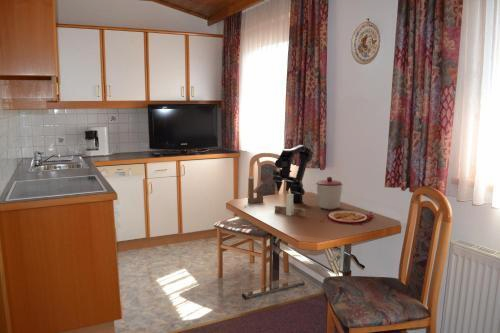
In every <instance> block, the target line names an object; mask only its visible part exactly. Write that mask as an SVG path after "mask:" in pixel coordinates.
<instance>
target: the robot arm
mask: <svg viewBox="0 0 500 333" xmlns="http://www.w3.org/2000/svg"><path fill="white" fill-rule="evenodd" d="M295 155H299V159H300V161H299V166H298V168H297V173H296V174H295V175H296V176H295V177H294V176H291V175H290V173H292V170H291V168H292V163H293V162H294V160H292V159H293V158H294V157H295ZM312 157H313V151H311V149H310V148H308V147H307V146H306V145H304V144H298V145H297V146H294V147H293V148H290V149H289V148H287V149H286V148H285V149H282V152H281V153H280V155H279V157H277V159H276V160H275V162H274V165H275V167H276V168H277V169H279V171H277V170H272V180H273V181H274V182H275V185H276V189H277V190H276V191H277V192H280V190H281V187H282V185H283V181H285V183H286V185H285V192H288V191H289V192H290V194H293V204H304V202H303V196H304V195H305V192H306V191H305V188H304V184H303V179H304V175H305V172H306V168H307V164H308V163H309V162H310V161H311V160H312Z"/></svg>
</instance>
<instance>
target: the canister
mask: <svg viewBox="0 0 500 333" xmlns="http://www.w3.org/2000/svg"><path fill="white" fill-rule="evenodd" d="M315 185H316V194H317V195H316V196H317V203H318V206H319V208H321V209H324V210H335V209H338V208H339V207H340V205H341V198H342V196H341V195H342V192H343V186H344V183H343V182H341V181H339V180H335V179H333V178H332V176H327V178H326V179H322V180H318V181H317V182H315Z"/></svg>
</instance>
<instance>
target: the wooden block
mask: <svg viewBox="0 0 500 333" xmlns="http://www.w3.org/2000/svg"><path fill="white" fill-rule="evenodd" d="M247 180H248V197H247V203H248V204H256V203H263V202H264V182H263V181H260V182H259V184H258V185H256V187H255V186H254V185H255V184H254V181H255V180H254V177H248V178H247ZM254 187H255V188H254ZM254 194H256V196H254Z"/></svg>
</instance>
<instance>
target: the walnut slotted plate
mask: <svg viewBox="0 0 500 333" xmlns="http://www.w3.org/2000/svg"><path fill="white" fill-rule="evenodd" d="M274 213H275V214H281V215H286V206H283V205H274ZM293 216H295V217H303V218H304V217H306V208H300V207H299V208H298V207H293Z"/></svg>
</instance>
